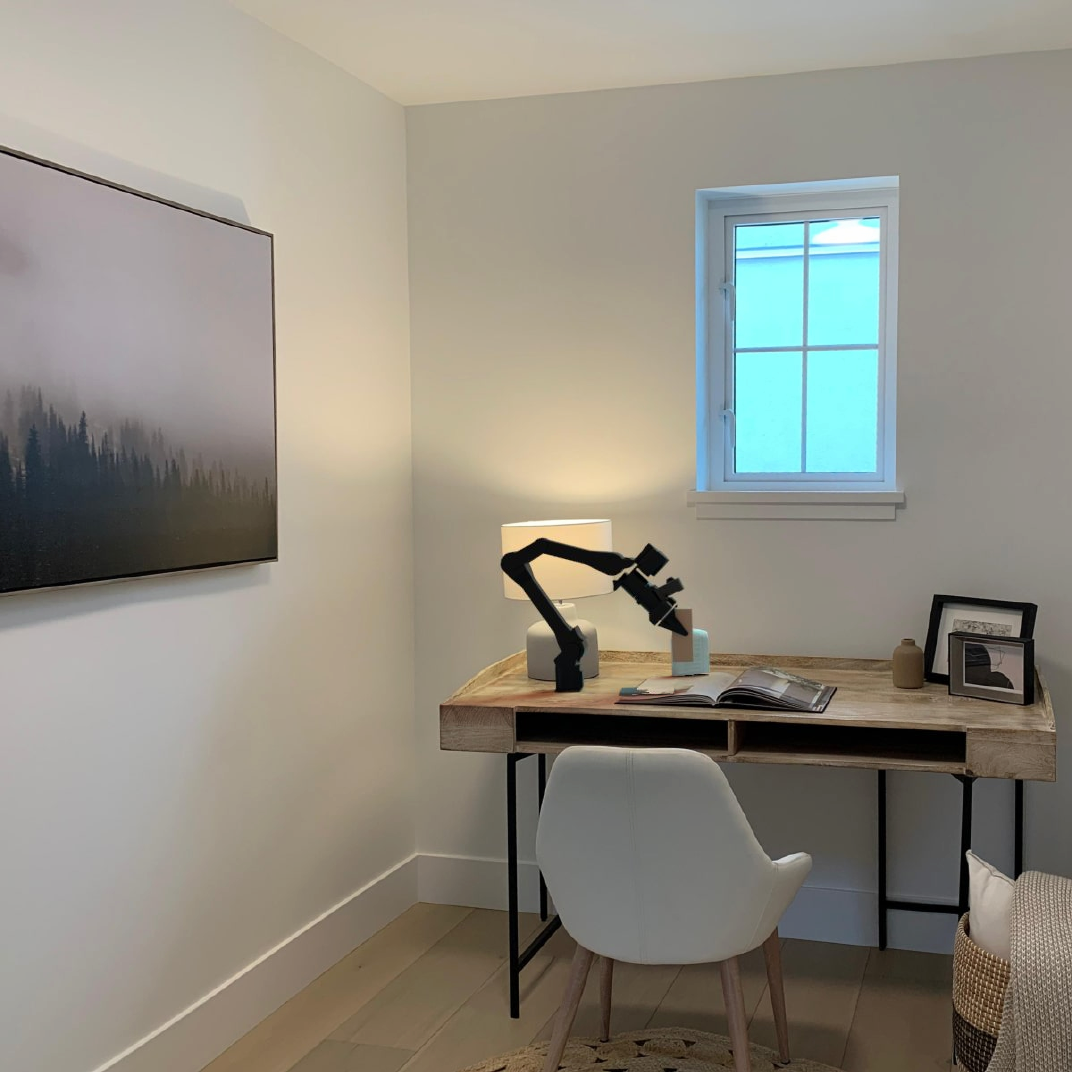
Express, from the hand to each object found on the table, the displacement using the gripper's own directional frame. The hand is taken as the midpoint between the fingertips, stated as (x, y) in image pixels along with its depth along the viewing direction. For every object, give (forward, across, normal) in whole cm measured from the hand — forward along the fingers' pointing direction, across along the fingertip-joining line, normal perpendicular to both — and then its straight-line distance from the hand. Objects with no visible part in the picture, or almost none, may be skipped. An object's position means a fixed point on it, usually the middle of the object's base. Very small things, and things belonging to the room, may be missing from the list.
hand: (688, 633), depth 294 cm
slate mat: (+2, -5, +17) cm, 18 cm away
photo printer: (+9, +23, +10) cm, 27 cm away
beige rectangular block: (+4, 0, +6) cm, 7 cm away
